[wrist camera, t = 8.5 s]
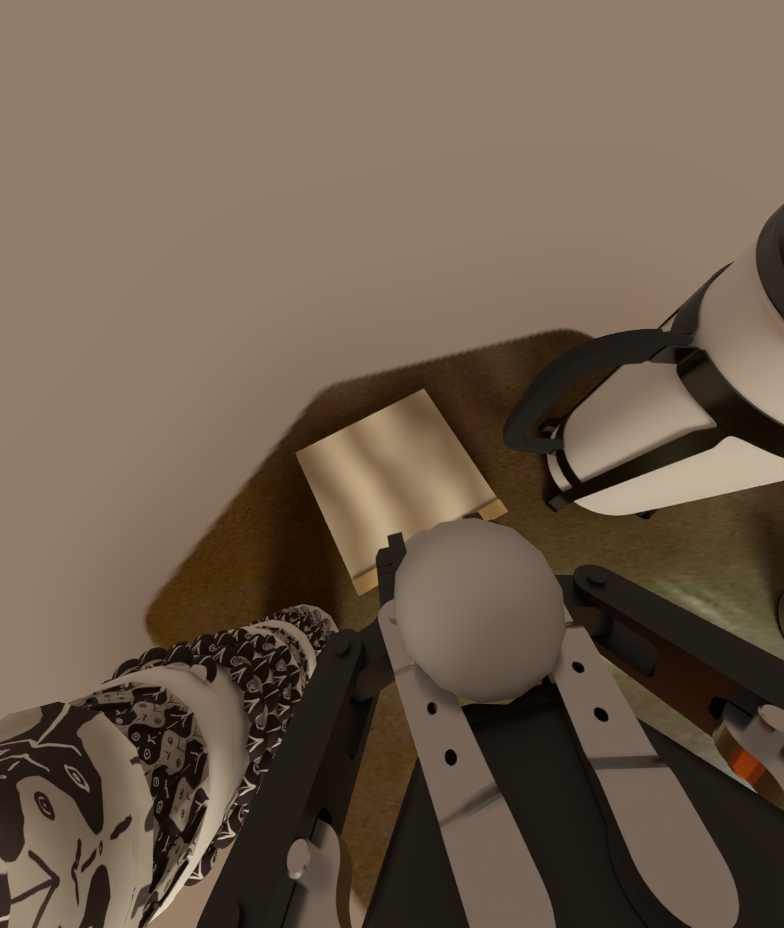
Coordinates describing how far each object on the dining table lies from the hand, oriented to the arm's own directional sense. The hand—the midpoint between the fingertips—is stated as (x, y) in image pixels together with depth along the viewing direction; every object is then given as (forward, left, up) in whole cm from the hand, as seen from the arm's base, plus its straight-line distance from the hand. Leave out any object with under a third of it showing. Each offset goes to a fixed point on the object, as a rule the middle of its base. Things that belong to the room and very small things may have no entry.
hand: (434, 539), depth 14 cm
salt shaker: (0, +2, -6) cm, 6 cm away
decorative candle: (+15, +2, -20) cm, 25 cm away
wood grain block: (-1, -7, -20) cm, 21 cm away
